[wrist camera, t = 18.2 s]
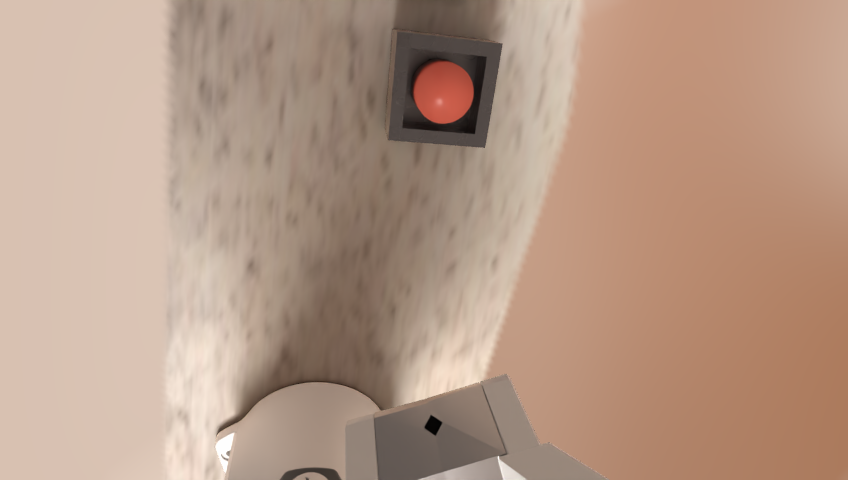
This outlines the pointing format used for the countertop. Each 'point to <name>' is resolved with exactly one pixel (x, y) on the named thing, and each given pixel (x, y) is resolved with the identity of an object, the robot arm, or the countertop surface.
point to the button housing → (465, 52)
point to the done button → (442, 90)
